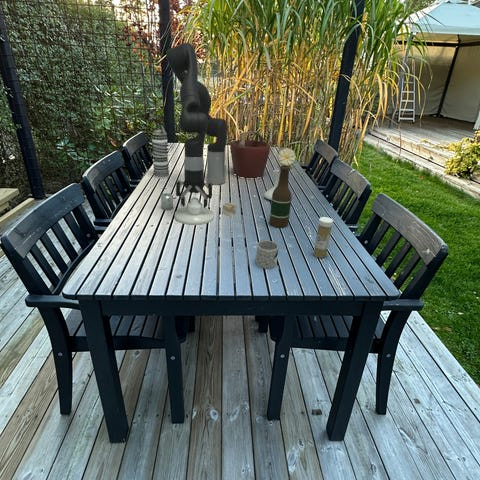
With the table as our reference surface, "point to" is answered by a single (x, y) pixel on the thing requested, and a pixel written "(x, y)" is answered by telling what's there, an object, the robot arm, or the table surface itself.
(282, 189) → the beer bottle
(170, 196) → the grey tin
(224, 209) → the brass block
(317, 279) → the table surface
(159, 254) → the table surface
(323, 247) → the sprinkles bottle
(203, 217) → the white bowl
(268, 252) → the mug
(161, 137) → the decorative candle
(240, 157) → the brown flower pot
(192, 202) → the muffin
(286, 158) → the flower in vase
